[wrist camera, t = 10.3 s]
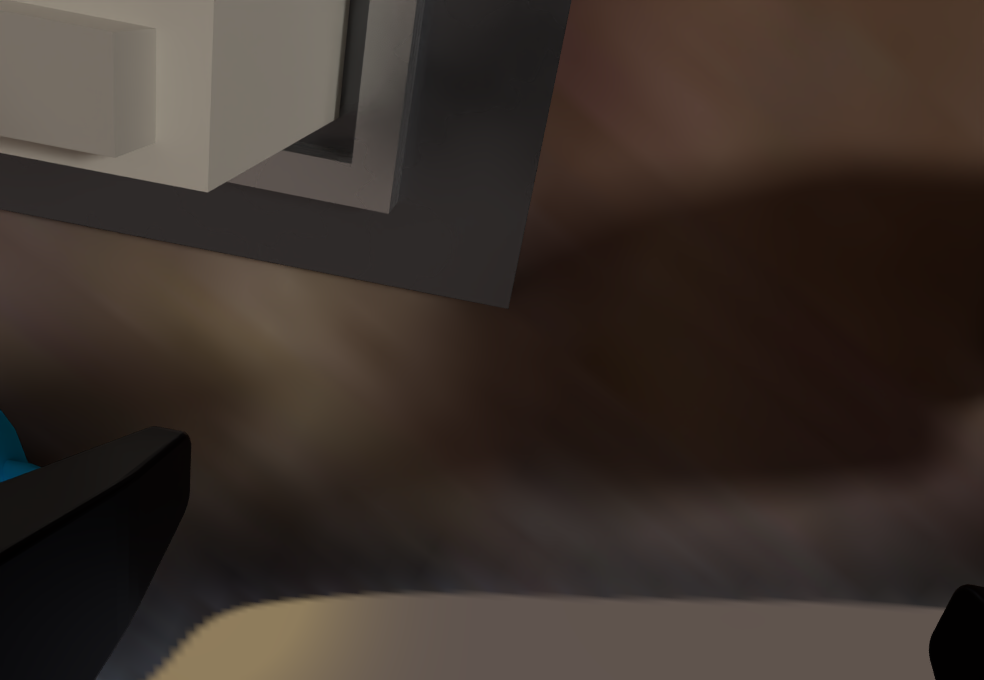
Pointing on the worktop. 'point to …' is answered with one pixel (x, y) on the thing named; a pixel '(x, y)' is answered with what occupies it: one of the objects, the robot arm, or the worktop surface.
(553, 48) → the patch board
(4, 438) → the mug
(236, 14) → the plug
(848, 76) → the worktop surface
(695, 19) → the worktop surface
